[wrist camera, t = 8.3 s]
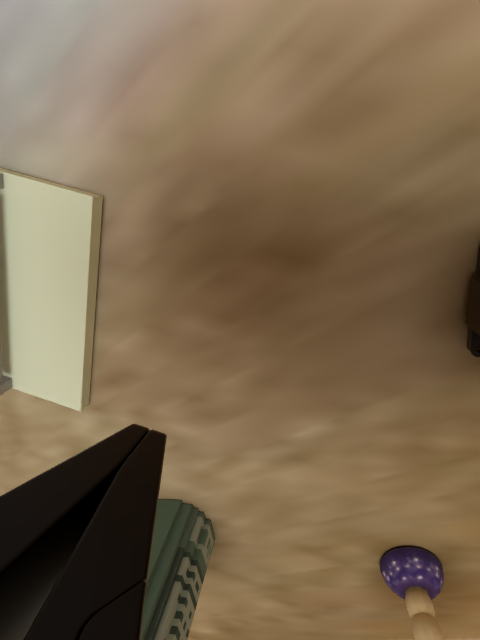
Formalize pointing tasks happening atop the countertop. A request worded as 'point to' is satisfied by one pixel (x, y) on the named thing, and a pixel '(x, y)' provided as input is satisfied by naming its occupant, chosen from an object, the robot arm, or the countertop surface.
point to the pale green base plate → (48, 287)
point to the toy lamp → (415, 586)
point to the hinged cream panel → (0, 364)
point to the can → (175, 570)
